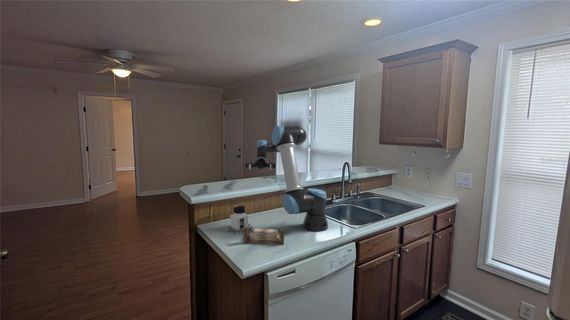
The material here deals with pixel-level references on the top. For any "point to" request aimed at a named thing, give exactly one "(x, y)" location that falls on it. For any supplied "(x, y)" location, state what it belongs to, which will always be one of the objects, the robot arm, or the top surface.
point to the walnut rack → (247, 235)
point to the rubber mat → (236, 230)
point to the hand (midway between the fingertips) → (260, 167)
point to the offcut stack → (264, 234)
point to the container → (239, 218)
